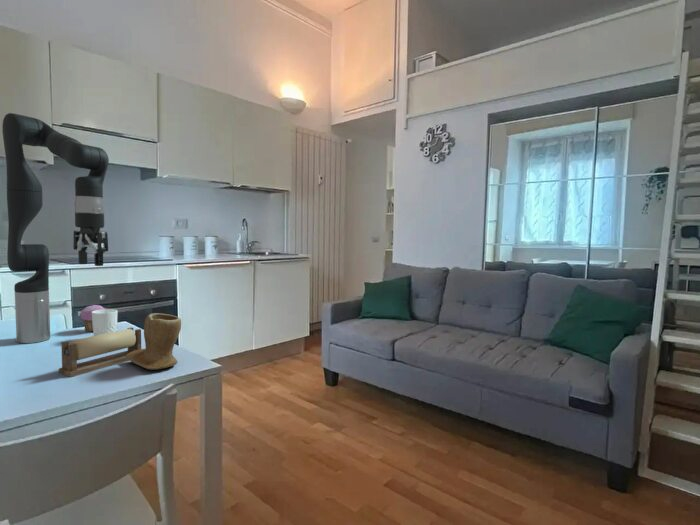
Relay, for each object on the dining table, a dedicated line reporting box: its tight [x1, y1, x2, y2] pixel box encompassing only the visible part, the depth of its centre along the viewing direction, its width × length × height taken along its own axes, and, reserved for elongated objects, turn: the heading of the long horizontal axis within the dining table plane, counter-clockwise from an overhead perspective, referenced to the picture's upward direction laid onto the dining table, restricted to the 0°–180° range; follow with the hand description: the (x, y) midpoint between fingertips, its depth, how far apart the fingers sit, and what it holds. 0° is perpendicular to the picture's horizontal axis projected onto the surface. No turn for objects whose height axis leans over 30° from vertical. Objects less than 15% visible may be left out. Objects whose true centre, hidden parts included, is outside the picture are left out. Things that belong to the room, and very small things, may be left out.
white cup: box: [92, 308, 119, 336], centre depth 142 cm, size 8×8×10 cm
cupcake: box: [79, 304, 106, 332], centre depth 152 cm, size 9×9×10 cm
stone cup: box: [126, 312, 182, 370], centre depth 117 cm, size 15×12×15 cm
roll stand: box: [58, 327, 142, 378], centre depth 116 cm, size 6×21×8 cm, turn 152°
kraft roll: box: [65, 328, 136, 361], centre depth 116 cm, size 6×20×6 cm, turn 152°
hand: (90, 264), depth 123 cm, fingers open, 8 cm apart
